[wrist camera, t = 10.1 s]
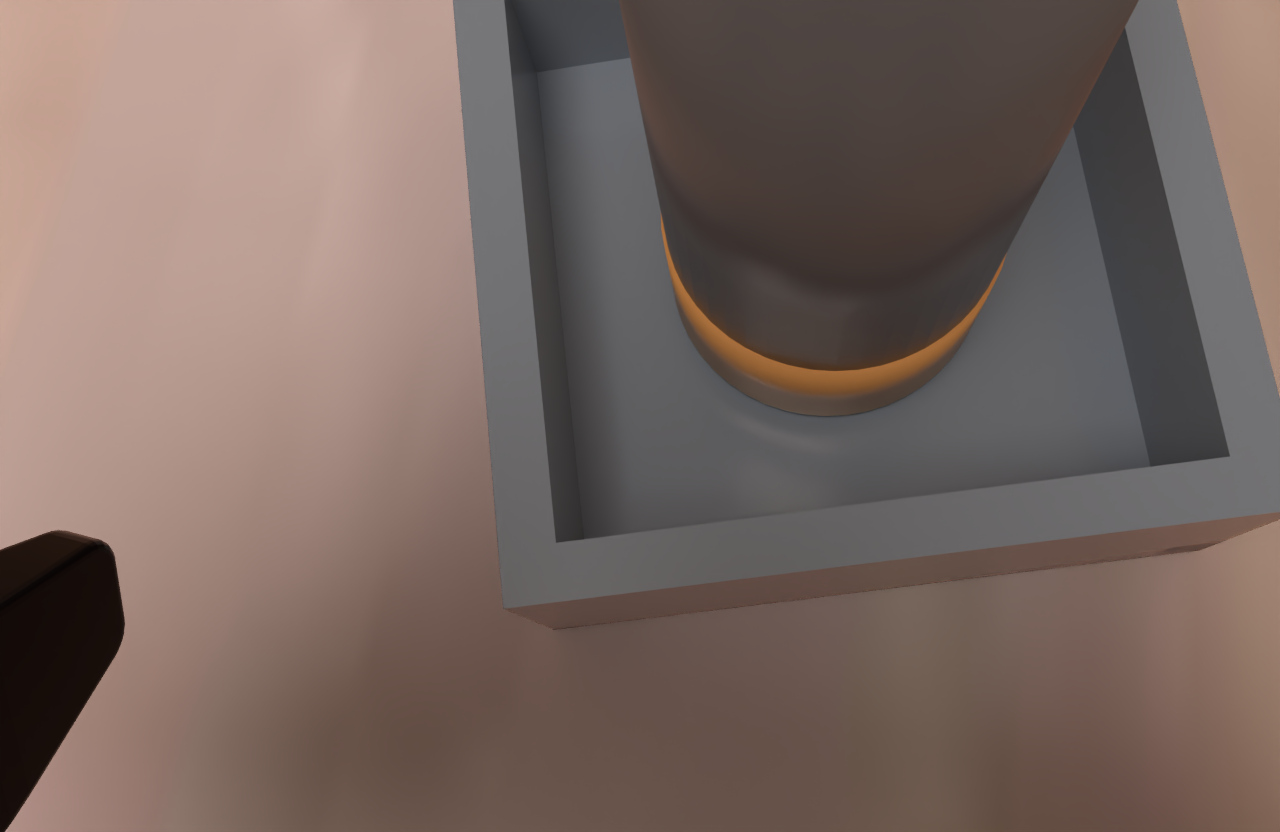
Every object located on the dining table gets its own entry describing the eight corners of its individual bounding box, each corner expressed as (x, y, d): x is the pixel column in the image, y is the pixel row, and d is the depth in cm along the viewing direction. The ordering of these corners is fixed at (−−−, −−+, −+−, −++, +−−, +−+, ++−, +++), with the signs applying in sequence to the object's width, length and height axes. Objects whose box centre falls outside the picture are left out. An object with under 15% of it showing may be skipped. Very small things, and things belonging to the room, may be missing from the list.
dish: (553, 630, 20) (503, 608, 16) (501, 68, 23) (447, -64, 19) (1199, 550, 19) (1308, 508, 15) (1066, -20, 22) (1130, -177, 18)
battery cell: (795, 480, 19) (860, 33, 7) (614, 245, 21) (382, -498, 8) (1045, 297, 20) (1553, -458, 7) (851, 78, 21) (986, -889, 8)
